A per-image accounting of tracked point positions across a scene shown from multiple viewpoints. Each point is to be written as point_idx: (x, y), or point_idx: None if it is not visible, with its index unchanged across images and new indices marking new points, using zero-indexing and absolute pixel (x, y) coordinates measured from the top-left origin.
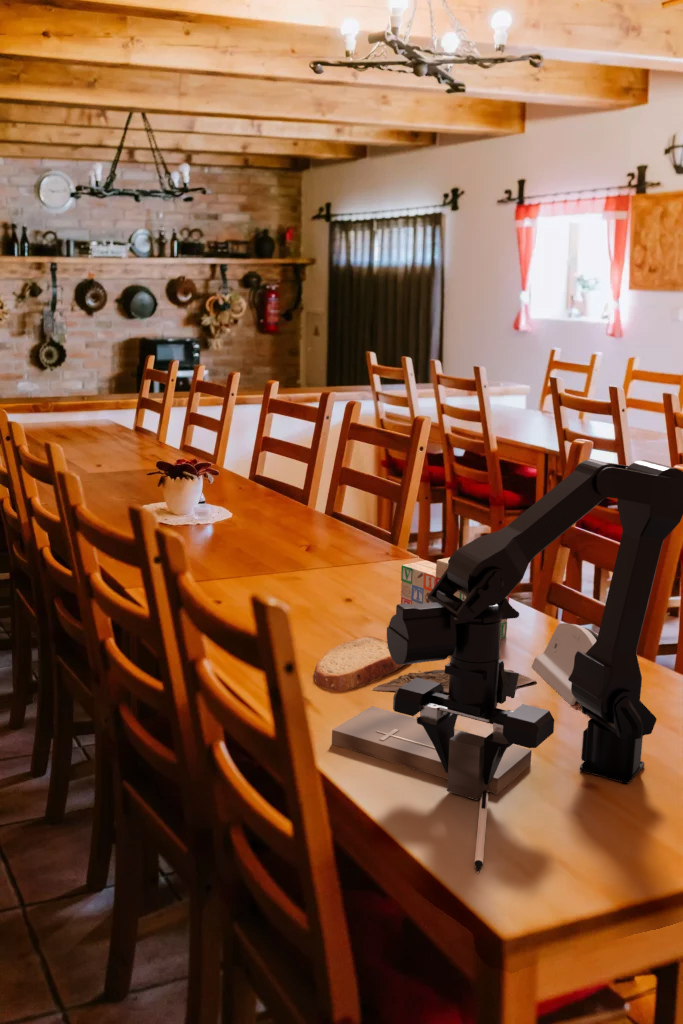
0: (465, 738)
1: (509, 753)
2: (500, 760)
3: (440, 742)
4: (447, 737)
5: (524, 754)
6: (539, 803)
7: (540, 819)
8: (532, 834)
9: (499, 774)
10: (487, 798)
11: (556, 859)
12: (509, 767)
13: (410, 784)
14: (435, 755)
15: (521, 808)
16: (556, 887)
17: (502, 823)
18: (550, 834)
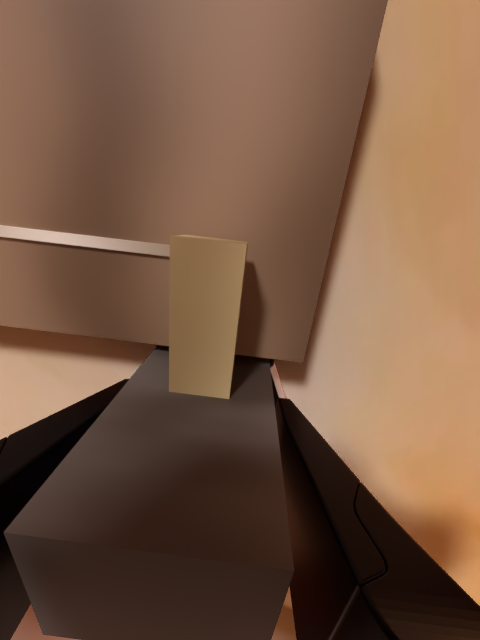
0: (117, 610)
1: (286, 55)
2: (346, 469)
3: (24, 613)
4: (5, 567)
5: (377, 8)
6: (430, 331)
7: (436, 410)
8: (419, 472)
9: (300, 329)
10: (280, 388)
11: (474, 527)
12: (324, 243)
13: (67, 387)
14: (14, 291)
15: (378, 380)
16: (471, 584)
17: (343, 458)
18: (463, 459)
